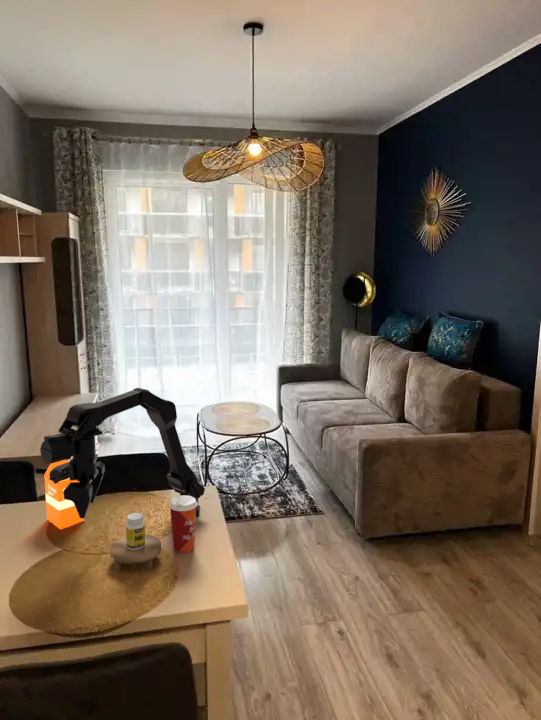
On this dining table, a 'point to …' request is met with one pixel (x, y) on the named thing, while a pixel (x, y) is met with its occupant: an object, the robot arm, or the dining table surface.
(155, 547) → the stool
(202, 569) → the dining table surface
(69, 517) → the orange juice
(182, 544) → the paper cup
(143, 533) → the supplement bottle
